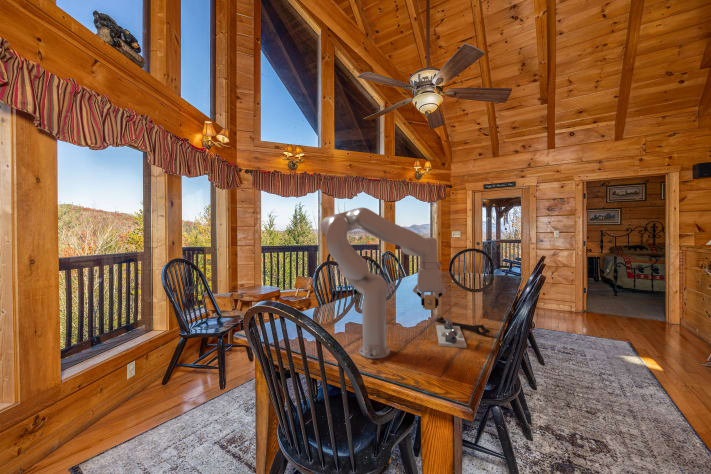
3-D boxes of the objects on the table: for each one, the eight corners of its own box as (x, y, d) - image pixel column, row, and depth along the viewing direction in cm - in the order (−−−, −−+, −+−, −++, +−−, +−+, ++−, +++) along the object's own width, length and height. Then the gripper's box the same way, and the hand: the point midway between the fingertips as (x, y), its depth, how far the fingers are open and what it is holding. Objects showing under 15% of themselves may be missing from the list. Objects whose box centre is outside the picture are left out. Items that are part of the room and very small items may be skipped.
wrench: (441, 323, 159) (494, 335, 134) (435, 325, 156) (488, 338, 131) (440, 314, 159) (493, 324, 134) (434, 316, 156) (487, 326, 131)
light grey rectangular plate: (466, 347, 120) (466, 342, 120) (439, 345, 123) (439, 340, 123) (459, 328, 144) (459, 324, 144) (436, 327, 146) (436, 322, 146)
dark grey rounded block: (450, 338, 128) (450, 328, 128) (458, 340, 125) (458, 330, 125) (444, 342, 123) (444, 331, 123) (452, 344, 121) (452, 333, 121)
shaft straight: (453, 331, 137) (453, 321, 137) (445, 330, 138) (445, 321, 138) (451, 326, 144) (451, 317, 144) (443, 325, 145) (443, 316, 145)
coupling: (435, 310, 122) (435, 297, 122) (424, 310, 123) (424, 297, 123) (434, 306, 129) (434, 294, 129) (424, 306, 130) (424, 294, 130)
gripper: (448, 264, 127) (449, 305, 128) (409, 264, 131) (410, 304, 132) (449, 266, 120) (450, 310, 121) (408, 267, 124) (409, 309, 125)
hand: (429, 306), depth 126 cm, fingers closed on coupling, 4 cm apart
